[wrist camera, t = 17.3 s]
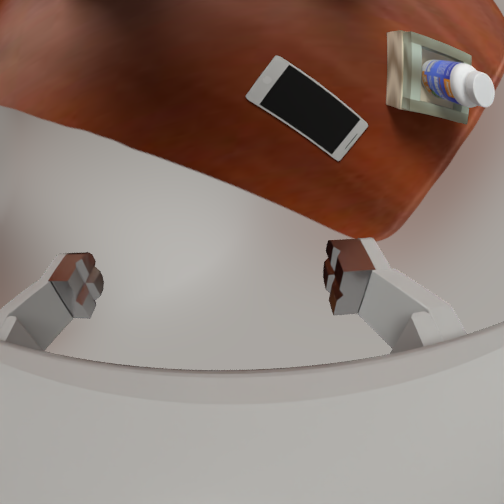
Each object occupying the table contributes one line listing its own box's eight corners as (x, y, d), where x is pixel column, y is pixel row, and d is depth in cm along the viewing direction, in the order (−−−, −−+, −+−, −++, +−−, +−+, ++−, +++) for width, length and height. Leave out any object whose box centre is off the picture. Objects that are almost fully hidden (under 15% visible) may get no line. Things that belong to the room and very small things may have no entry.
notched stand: (386, 32, 23) (409, 29, 19) (447, 52, 23) (472, 54, 18) (386, 104, 30) (407, 112, 25) (444, 116, 30) (467, 126, 25)
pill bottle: (412, 76, 24) (461, 86, 16) (431, 51, 21) (481, 56, 13) (436, 104, 26) (484, 123, 18) (454, 80, 23) (503, 94, 15)
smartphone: (275, 54, 27) (276, 54, 26) (367, 123, 32) (369, 125, 32) (244, 97, 31) (244, 97, 30) (336, 160, 36) (338, 162, 35)
